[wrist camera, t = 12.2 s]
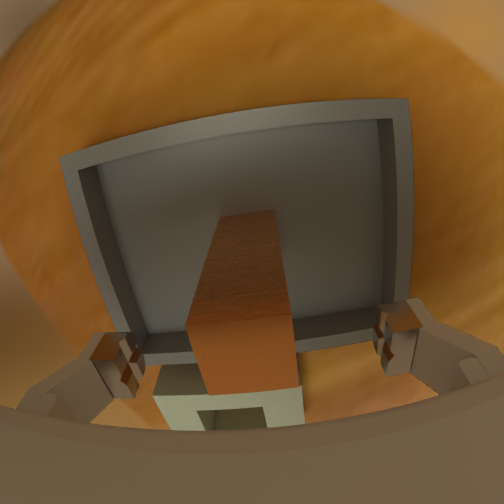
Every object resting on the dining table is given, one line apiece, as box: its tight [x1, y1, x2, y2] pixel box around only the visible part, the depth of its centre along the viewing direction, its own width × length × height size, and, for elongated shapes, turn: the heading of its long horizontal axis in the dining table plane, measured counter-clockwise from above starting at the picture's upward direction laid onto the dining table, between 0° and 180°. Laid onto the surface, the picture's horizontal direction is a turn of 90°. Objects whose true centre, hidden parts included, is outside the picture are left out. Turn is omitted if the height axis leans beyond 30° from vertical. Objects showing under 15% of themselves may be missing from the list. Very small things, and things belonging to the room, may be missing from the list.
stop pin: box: [185, 209, 299, 396], centre depth 14 cm, size 3×3×10 cm
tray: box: [59, 98, 414, 365], centre depth 18 cm, size 18×14×3 cm
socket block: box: [152, 353, 305, 431], centre depth 23 cm, size 10×8×4 cm
